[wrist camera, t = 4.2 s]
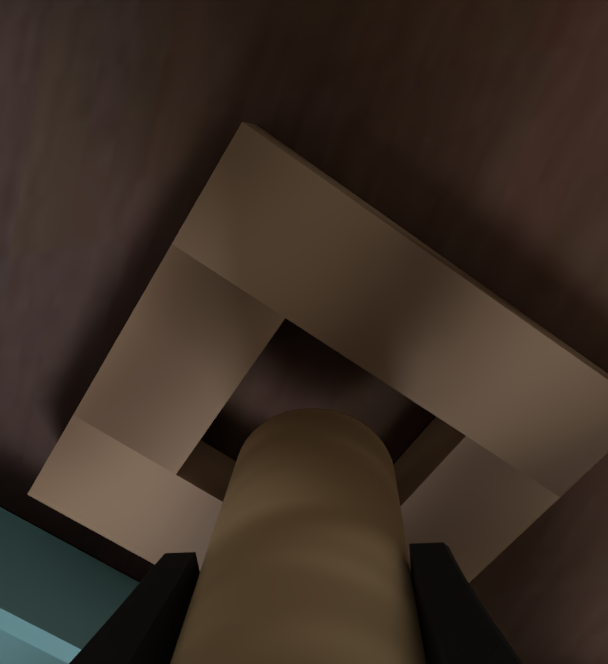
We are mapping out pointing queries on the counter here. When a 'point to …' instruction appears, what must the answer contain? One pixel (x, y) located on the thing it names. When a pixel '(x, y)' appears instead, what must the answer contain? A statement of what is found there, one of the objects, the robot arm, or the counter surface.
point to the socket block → (344, 337)
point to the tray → (51, 595)
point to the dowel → (306, 553)
